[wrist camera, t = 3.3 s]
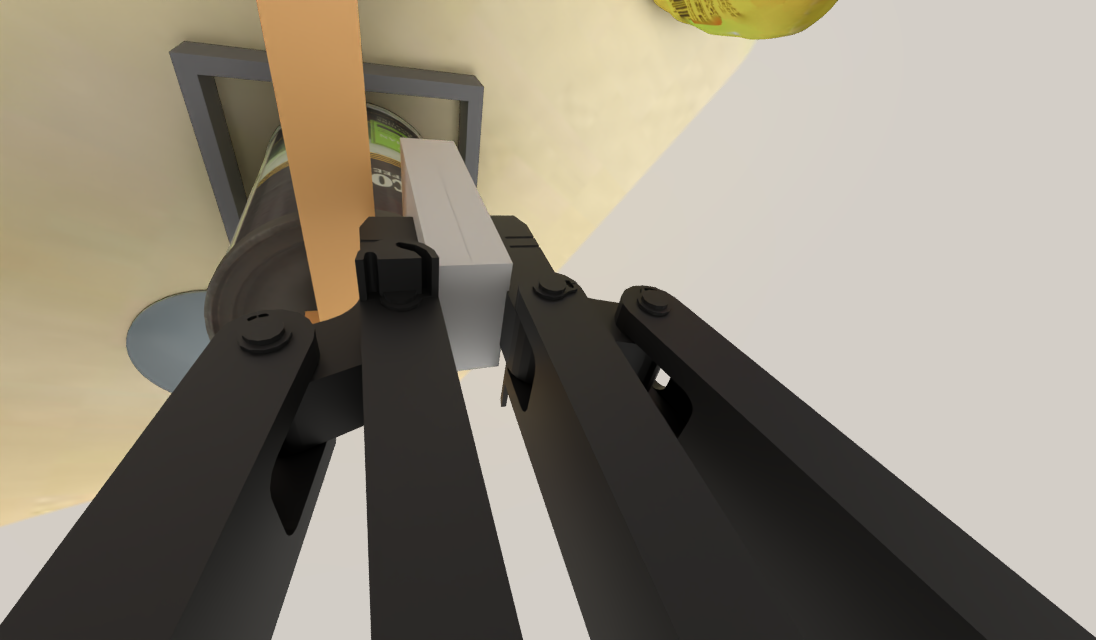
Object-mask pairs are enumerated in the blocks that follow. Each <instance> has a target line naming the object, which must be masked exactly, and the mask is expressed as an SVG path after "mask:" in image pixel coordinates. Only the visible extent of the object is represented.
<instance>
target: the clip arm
mask: <svg viewBox="0 0 1096 640" xmlns="http://www.w3.org/2000/svg"><path fill="white" fill-rule="evenodd" d="M256 2H257V7H258V12H259V17H260V22H261V27H262V32H263V37H264V42H265V47H266V52H267V57H268V62H269V67H270V72H271V77H272V82H273V87H274V92H275V97H276V102H277V107H278V112H279V117H280V122H281V127H282V132H283V138H284V143H285V148H286V153H287V158H288V163H289V168H290V173H291V178H292V183H293V188H294V193H295V198H296V203H297V208H298V213H299V218H300V223H301V228H302V233H303V238H304V243H305V248H306V253H307V258H308V263H309V268H310V273H311V278H312V284H313V289H314V294H315V299H316V304H317V309H318V311H305V317H307V318H308V319H310V321H311V323H312V324H314V323H318V322H321V321H325V320H328V319H331V318H334V317H337V316H339V315H341V314H343V313H345V312H347V311H348V310H350V309H351V308H352V307H353V306H354V305H355V304H356V303H357V302H358V300H359V291H358V283H357V274H356V266H355V258H356V255H357V253H358V251H359V250H360V234H359V227H360V226H361V225H362V224H363V222H364V221H365V220H366V219H367V218H368V217H375V208H374V196H373V184H372V172H371V160H370V147H369V135H368V123H367V111H366V98H365V86H364V74H363V62H362V49H361V37H360V25H359V13H358V0H256Z"/></svg>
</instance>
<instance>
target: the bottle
mask: <svg viewBox="0 0 1096 640" xmlns="http://www.w3.org/2000/svg"><path fill="white" fill-rule="evenodd" d="M653 1H654V2H655V4H656V5H658V6H659V7H660V8H662V9H663V10H665V11H667V12H669V13H670V14H671V15H672V16H673V17H674V18H675V19H676V20H678V21H680V22H683V23H686V24H690V25H693V26H695V27H697V28H699V29H701V30H703V31H704V32H706V33H708V34H713V35H721V36H733V37H742V38H746V39H771V38H778V37H783V36H789V35H793V34H796V33H799V32H801V31H803V30H805V29H807V28H808V27H809V26H811V25H812V24H814V23H815V22H816V21H818V20H819V19H820V18H821V17H823V16H824V15H825V14H826V13H827V12H828V11H829V10H830V9H831V8H832V7H833V6H834V4H835V3H836V2H837V1H838V0H653Z"/></svg>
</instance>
